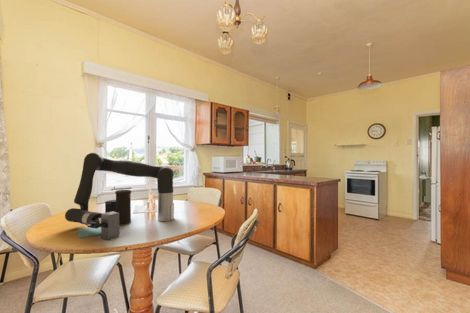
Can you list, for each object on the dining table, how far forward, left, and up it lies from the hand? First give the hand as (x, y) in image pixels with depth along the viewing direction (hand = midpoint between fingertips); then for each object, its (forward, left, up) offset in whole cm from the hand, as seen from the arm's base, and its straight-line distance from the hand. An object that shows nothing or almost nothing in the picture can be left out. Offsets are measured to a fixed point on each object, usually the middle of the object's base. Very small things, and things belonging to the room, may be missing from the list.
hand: (113, 224), depth 111 cm
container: (+7, -25, -7) cm, 27 cm away
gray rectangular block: (+2, -1, -7) cm, 7 cm away
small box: (+14, -33, -7) cm, 37 cm away
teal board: (+15, -9, -7) cm, 19 cm away
